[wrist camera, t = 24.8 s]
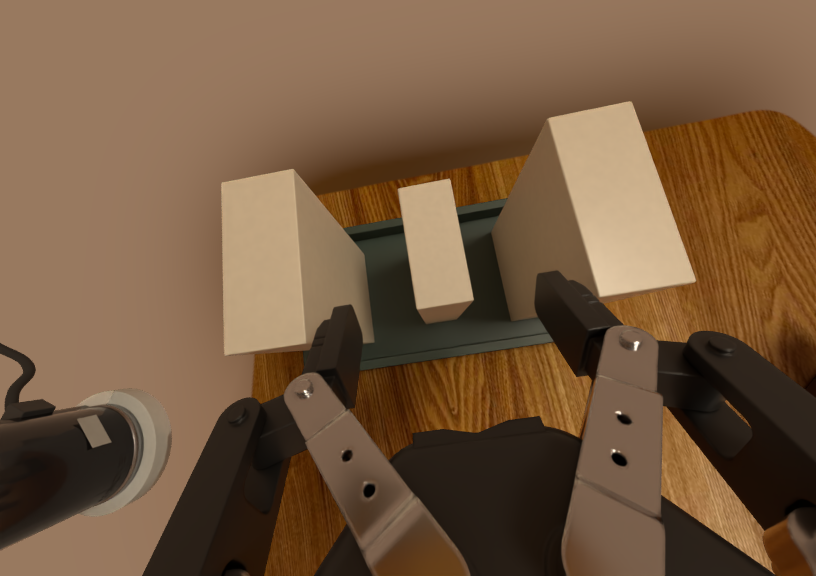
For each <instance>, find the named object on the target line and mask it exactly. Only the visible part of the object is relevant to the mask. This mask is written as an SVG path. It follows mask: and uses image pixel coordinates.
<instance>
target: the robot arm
mask: <svg viewBox="0 0 816 576" xmlns="http://www.w3.org/2000/svg"><path fill="white" fill-rule="evenodd" d="M534 306H535V311H536V314H537V316H538V318H539V319H540V321H541V323H542V324H543V326H544V327H545V329H546V330H547V332H548V333H549V335H550V337H551V338H552V340H553V341H554V343H555V344H556V346H557V347H558V349H559V351H560V352H561V354H562V355H563V357H564V358H565V360H566V361H567V363H568V364H569V366H570V368H571V369H572V371H573V372H574V374H575V375H576V377H580V376H587V375H589V377H590V378H591V380H592V382H591V386H590V390H589V395H588V399H587V403H586V408H585V412H584V416H583V421H582V425H581V429H580V433H579V437H576V436H574V435H572V434H570V433H568V432H565V431H562V430H559V429H556V428H551V427H546V426H544V425H543V423H542V420H541V418H540V416H537V417H529V418H522V419H514V420H508V421H505V422H503V423H500V424H498V425H496V426H493V427H491V428H488V429H486V430H484V431H481V432H479V433H471V432H463V431H455V430H446V429H440V430H433V431H426V432H418V433H413V443H412V444H410V445H408V446H406V447H405V448H403V449H401V450H400V451H399V452H397V453H396V454H395V455H394V456H393V457H392V458H391V459H389V461H388V460H387V458H386V457H385V456H384V454H383V453H382V452H381V450H380V449H379V448H378V446H377V445H376V444H375V442H374V441H373V440H372V439H371V437H370V436H369V435H368V433H367V432H366V431H365V429H364V428H363V427H362V425H361V424H360V423H359V421H358V420H357V419H356V418H355V416H354V415H353V414H352V412H351V411H350V410H349V408H355V402H356V395H357V387H358V379H359V371H360V363H361V355H362V347H363V335H362V330H361V327H360V325H359V322H358V319H357V316H356V313H355V311H354V308H353V306H352V305H351V304H349V305H343V306H337V307H334V308H333V311H332V315H331V318H330V319H328V320H324V321H323V322H322V323H321V324H320V326H319V327H318V328H317V330H316V333H315V336H314V340H313V342H312V345H311V346H312V347H311V348H310V351H309V354H308V357H307V360H306V363H305V366H304V369H303V372H302V375H300V376H299V377H297V378H296V379H294V380H293V381H292V382H291V383H290V384H289V385H288V387H287V388H286V390H285V393H284V394H283V395H281V396H279V397H277V398H274V399H272V400H270V401H267V402H265V403H263V404H260V403H259V402H258V400H257V399H255V398H244V399H241V400H238V401H237V402H235V403H233V404H232V405H230V406H229V407H228V408H227V409H226V410H225V411H224V412H223V413H222V414H221V416H220V417H219V419H218V421H217V423H216V425H215V427H214V429H213V431H212V433H211V435H210V437H209V439H208V441H207V443H206V445H205V447H204V449H203V451H202V454H201V456H200V458H199V460H198V462H197V464H196V466H195V468H194V470H193V472H192V474H191V476H190V478H189V480H188V482H187V485H186V487H185V489H184V491H183V493H182V495H181V497H180V499H179V501H178V503H177V505H176V507H175V509H174V511H173V513H172V515H171V517H170V520H169V522H168V524H167V526H166V528H165V530H164V532H163V534H162V536H161V538H160V540H159V542H158V544H157V546H156V549H155V550H154V552H153V555H152V557H151V559H150V561H149V563H148V565H147V567H146V569H145V571H144V573H143V575H142V576H264V573H265V568H266V564H267V560H268V555H269V551H270V546H271V542H272V538H273V533H274V529H275V525H276V520H277V516H278V512H279V507H280V503H281V499H282V494H283V490H284V486H285V481H286V477H287V473H288V468H289V464H290V460H291V456H294V455H296V454H298V453H300V452H302V451H304V450H306V449H308V450H309V452H310V454H311V456H312V458H313V460H314V462H315V463H316V465H317V467H318V469H319V471H320V473H321V475H322V477H323V479H324V481H325V483H326V484H327V486H328V488H329V490H330V492H331V494H332V496H333V498H334V500H335V502H336V504H337V505H338V507H339V509H340V511H341V513H342V515H343V517H344V519H345V521H346V523H347V524H346V526H345V527H344V529H343V531H342V532H341V534H340V535H339V537H338V538H337V540H336V542H335V543H334V545H333V546H332V548H331V549H330V551H329V553H328V554H327V556H326V557H325V559H324V560H323V562H322V564H321V565H320V567H319V568H318V570H317V571H316V573H315V575H314V576H816V398H815V397H814V396H813V395H811V394H810V393H809V392H808V391H806V390H805V389H804V388H802V387H801V386H800V385H798V384H797V383H796V382H795V381H793V380H792V379H791V378H789V377H788V376H787V375H785V374H784V373H783V372H782V371H780V370H779V369H778V368H776V367H775V366H774V365H773V364H771V363H770V362H769V361H767V360H766V359H765V358H763V357H762V356H761V355H760V354H758V353H757V352H756V351H754V350H753V349H752V348H750V347H749V346H748V345H746V344H745V343H744V342H742V341H740V340H738V339H736V338H734V337H732V336H729V335H726V334H723V333H719V332H713V331H699V332H695V333H693V334H692V335H691V336H690V337H689V339H688V341H687V343H682V342H669V341H658V340H656V339H655V338H654V337H653V336H652V335H650V334H649V333H647V332H646V331H644V330H642V329H639V328H636V327H632V326H625V325H623V324H622V323H621V322H620V321H619V320H618V319H617V318H616V317H615V316H614V315H613V314H612V313H611V312H610V311H609V310H608V309H607V308H606V307H605V306H604V305H603V304H602V303H601V302H599V300H598V299H597V298H596V297H595V296H593V293H592V292H591V291H590V290H589V289H588V288H587V287H586V286H584V285H582V284H580V283H578V282H576V281H574V280H567V279H566V278H565V277H564V276H563V275H562V274H561V273H560V272H559V271H558V270H555V271H549V272H543V273H538V274H537V277H536V288H535V299H534ZM0 354H2V355H5V356H7V357H9V358H12V359H13V360H15V361H17V362H18V363H19V364H20V365H21V367H22V369H23V374H22V376H20V377H19V378H18V379H17V380H16V381H15V382H14V383H13V384H12V385H11V386H10V388H9V390H8V392H7V395H6V398H5V412H4V414H3V416H2V418H1V420H0V551H1V550H3V549H5V548H7V547H9V546H11V545H13V544H15V543H18V542H20V541H22V540H24V539H26V538H28V537H30V536H32V535H34V534H36V533H38V532H40V531H43V530H45V529H47V528H49V527H51V526H53V525H55V524H57V523H59V522H61V521H64V520H66V519H68V518H70V517H72V516H74V515H76V514H78V513H80V512H82V511H84V510H86V509H88V508H91V507H93V506H97V505H99V504H102V503H104V502H106V501H108V500H110V499H112V498H114V497H115V496H117V495H119V494H120V493H121V492H122V491H123V490H124V489H126V487H127V486H128V485H129V484H130V483H131V481H132V480H133V478H134V477H135V475H136V473H137V471H138V469H139V467H140V464H141V460H142V456H143V449H144V440H143V433H142V429H141V426H140V424H139V422H138V420H137V419H136V417H135V416H134V415H133V414H132V413H131V412H130V411H129V410H128V409H126V408H125V407H123V406H120V405H117V404H102V405H97V406H92V407H88V406H87V405H84V406H78V407H73V408H67V409H61V410H56V411H54V410H55V406H54V405H52V404H50V403H48V402H46V401H45V400H43V399H41V400H34V401H26V402H20V403H19V394H20V391H21V390H22V388H23V387H24V386H25V385H26V384H27V383H28V382H29V381H30V380H31V379H32V378H33V376H34V374H35V371H36V369H35V365H34V363H33V362H32V361H31V360H30V359H29V358H28V357H27V356H25V355H24V354H22V353H20V352H18V351H16V350H13V349H11V348H9V347H7V346H5V345H3V344H1V343H0ZM725 400H727V401H728V402H729V403H730V404H731V405H732V406H733V407H734V408H735V409H736V410H737V411H738V412H739V413H740V414H741V415H742V416H743V417H744V418H745V419H746V420H747V421H748V423H749V424H750V426H751V428H750V427H749V426H748V425H747V424H746V423H745V422H744V421H743V420H742V419H741V418H740V417H739V416H738V415H737V414H736V413H735V412H734V411H733V410H732V409H731V408H730V407H729V406H728V405H727V404H726V403H725ZM663 406H666V407H667V408H668V409H669V410H670V412H671V413H672V414H673V416H674V417H675V418H676V419H677V421H678V422H679V423H680V424H681V426H682V427H683V428H684V429H685V431H686V432H687V433H688V434H689V436H690V437H691V438H692V440H693V441H694V442H695V443H696V445H697V446H698V447H699V448H700V450H701V451H702V452H703V453H704V455H705V456H706V457H707V458H708V460H709V461H710V462H711V464H712V465H713V466H714V467H715V469H716V470H717V471H718V472H719V474H720V475H721V476H722V477H723V479H724V480H725V481H726V482H727V484H728V485H729V486H730V488H731V489H732V490H733V491H734V493H735V494H736V495H737V496H738V498H739V499H740V500H741V501H742V503H743V504H744V505H745V506H746V508H747V509H748V510H749V512H750V513H751V514H752V515H753V517H754V518H755V519H756V520H757V522H758V523H759V524H760V525H761V527H762V528H763V529H764V530H765V532H764V534H763V544H764V547H765V550H766V552H767V555H768V557H769V558H770V560H771V561H772V563H771V566H772V570H773V572H774V573H775V574H773V573H772V572H770V571H769V570H768V569H766V568H765V567H764V566H762V565H761V564H759V563H758V562H756V561H755V560H754V559H752V558H751V557H749V556H748V555H746V554H745V553H744V552H742V551H741V550H739V549H738V548H736V547H735V546H734V545H732V544H731V543H729V542H728V541H726V540H725V539H724V538H722V537H721V536H719V535H718V534H716V533H715V532H714V531H712V530H711V529H709V528H708V527H706V526H705V525H704V524H702V523H701V522H699V521H698V520H696V519H695V518H694V517H692V516H691V515H689V514H688V513H686V512H685V511H683V510H682V509H681V508H679V507H678V506H676V505H675V504H673V503H672V502H671V501H669V500H668V499H666V498H665V497H663V496H662V495H661V474H662V426H663Z"/></svg>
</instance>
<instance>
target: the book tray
mask: <svg viewBox="0 0 816 576" xmlns="http://www.w3.org/2000/svg"><path fill="white" fill-rule="evenodd" d="M507 199H508V198H506V199H500V200H495V201H489V202H484V203H479V204H473V205H468V206H462V207H457V208H456V211H457V216H458V222H459V227H460V232H461V237H462V242H463V247H464V252H465V257H466V262H467V267H468V272H469V277H470V282H471V287H472V292H473V297H474V301H473V302H472V303H471V304H470V305H469V306H468V307H467V308H466V310H465V311H464V312H463V313H462V314H461V315H460V316H459V317H458V319H456V320H451V321H445V322H438V323H432V324H426V323H425V322H424V320H423V318H422V317H421V315H420V314H419V312H418V310H417V309H416V303H415V296H414V290H413V284H412V277H411V271H410V265H409V258H408V252H407V245H406V239H405V233H404V226H403V220H402V218H396V219H391V220H385V221H380V222H375V223H369V224H364V225H358V226H353V227H347V228H343V229H344V231H345V232H346V233H347V234H348V235H349V237H350V238H351V239H352V240H353V241H354V243H355V244H356V245H357V246H358V247H359V249H360V250H361V251H362V252H363V253H364V256H365V264H366V273H367V281H368V290H369V298H370V307H371V315H372V324H373V332H374V341H375V342H374V343H369V344H363V347H362V355H361V363H360V371H361V370H368V369H374V368H381V367H388V366H395V365H402V364H408V363H415V362H422V361H429V360H435V359H442V358H449V357H456V356H463V355H469V354H476V353H483V352H490V351H497V350H503V349H510V348H517V347H524V346H530V345H537V344H544V343H551V342H554V341H553V340H552V338H551V337H550V335H549V333H548V332H547V330H546V329H545V327H544V326H543V324H542V323H541V321H540V319H539V318H538V317H537V318H531V319H525V320H518V321H511V319H510V314H509V310H508V305H507V301H506V297H505V292H504V288H503V283H502V279H501V274H500V270H499V265H498V261H497V256H496V252H495V247H494V243H493V238H492V234H491V231H492V229H493V227H494V225H495V223H496V221H497V219H498V217H499V215H500V213H501V211H502V209H503V207H504V205H505V203H506V201H507ZM309 351H310V350H305V351H303V357H304V366H305V363H306V360H307V357H308V354H309Z"/></svg>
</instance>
